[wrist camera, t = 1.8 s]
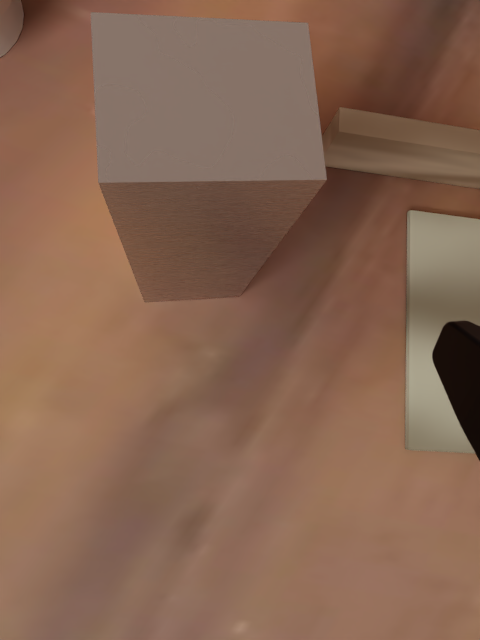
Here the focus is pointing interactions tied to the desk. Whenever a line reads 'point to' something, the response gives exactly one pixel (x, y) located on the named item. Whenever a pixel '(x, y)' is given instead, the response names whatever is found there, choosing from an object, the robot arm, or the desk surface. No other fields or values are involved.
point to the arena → (423, 250)
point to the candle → (10, 23)
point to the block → (203, 145)
